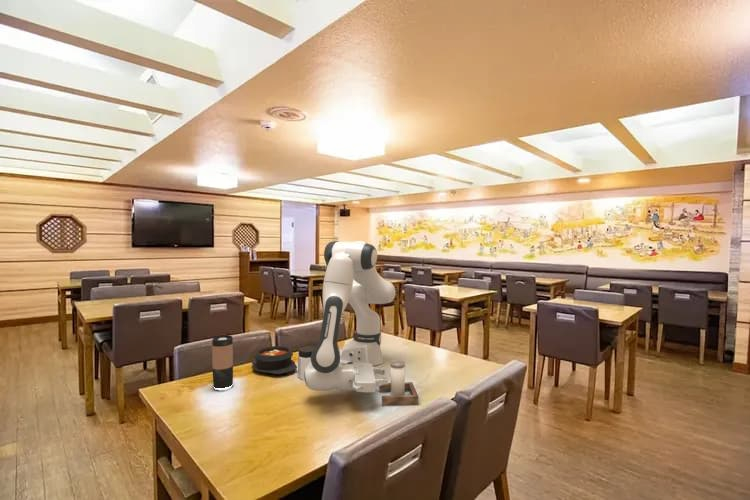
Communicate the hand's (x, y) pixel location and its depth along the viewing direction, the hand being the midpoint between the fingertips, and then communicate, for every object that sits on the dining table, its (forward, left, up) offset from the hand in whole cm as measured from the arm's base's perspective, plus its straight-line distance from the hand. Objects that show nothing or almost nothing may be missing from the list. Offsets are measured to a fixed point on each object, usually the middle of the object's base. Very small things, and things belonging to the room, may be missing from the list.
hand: (386, 376), depth 138 cm
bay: (+4, +1, -8) cm, 9 cm away
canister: (+4, +2, -8) cm, 9 cm away
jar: (-37, +12, -8) cm, 40 cm away
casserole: (-56, +17, -8) cm, 59 cm away
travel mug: (-65, -7, -8) cm, 66 cm away
